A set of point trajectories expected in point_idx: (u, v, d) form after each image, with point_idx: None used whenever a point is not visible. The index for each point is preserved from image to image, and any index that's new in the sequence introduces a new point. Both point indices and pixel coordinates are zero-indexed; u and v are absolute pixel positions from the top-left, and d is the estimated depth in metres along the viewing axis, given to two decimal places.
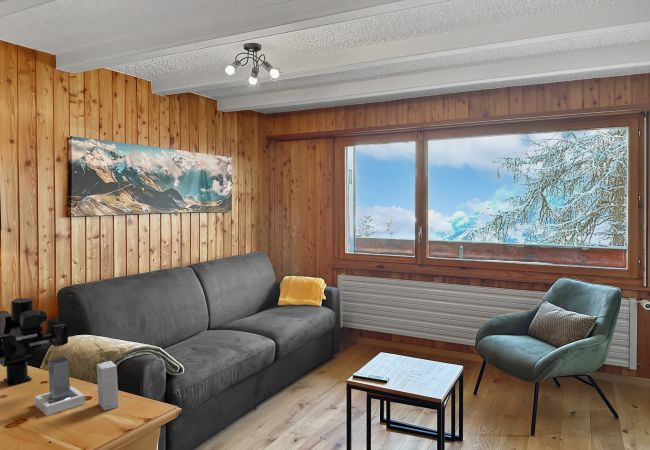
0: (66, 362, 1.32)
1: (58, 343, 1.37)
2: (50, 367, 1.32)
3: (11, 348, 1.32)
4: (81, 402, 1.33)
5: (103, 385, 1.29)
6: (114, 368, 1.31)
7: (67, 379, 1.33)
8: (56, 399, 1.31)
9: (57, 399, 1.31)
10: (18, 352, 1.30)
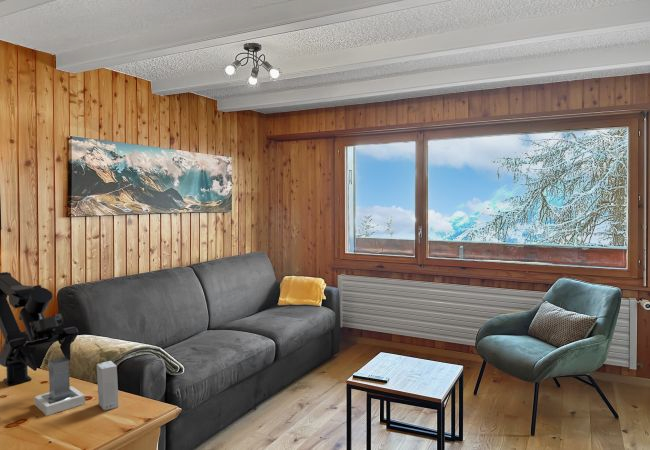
0: (66, 362, 1.32)
1: (67, 358, 1.39)
2: (50, 367, 1.32)
3: (22, 353, 1.32)
4: (81, 402, 1.33)
5: (103, 385, 1.29)
6: (114, 368, 1.31)
7: (67, 379, 1.33)
8: (56, 399, 1.31)
9: (57, 399, 1.31)
10: (28, 365, 1.32)
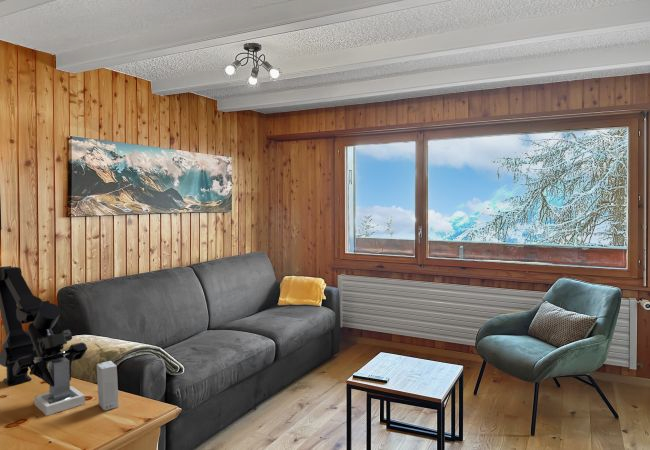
0: (66, 362, 1.32)
1: None
2: (50, 367, 1.32)
3: (39, 369, 1.32)
4: (81, 402, 1.33)
5: (103, 385, 1.29)
6: (114, 368, 1.31)
7: (67, 379, 1.33)
8: (56, 399, 1.31)
9: (57, 399, 1.31)
10: (46, 380, 1.31)
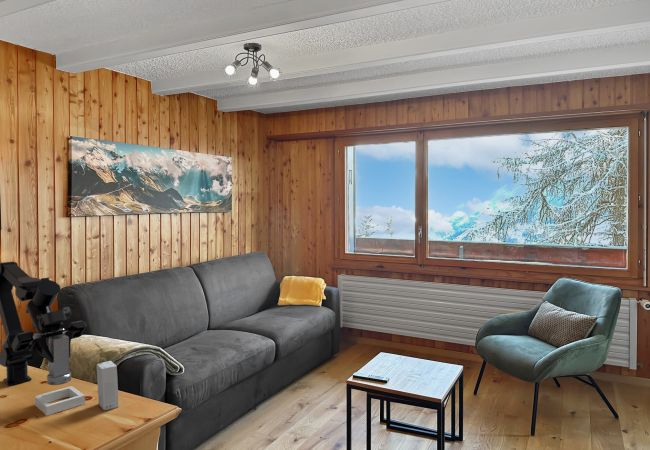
0: (66, 338, 1.32)
1: None
2: (50, 343, 1.31)
3: (38, 345, 1.31)
4: (81, 402, 1.33)
5: (103, 385, 1.29)
6: (114, 368, 1.31)
7: (67, 356, 1.32)
8: (56, 375, 1.30)
9: (57, 375, 1.31)
10: (45, 357, 1.30)
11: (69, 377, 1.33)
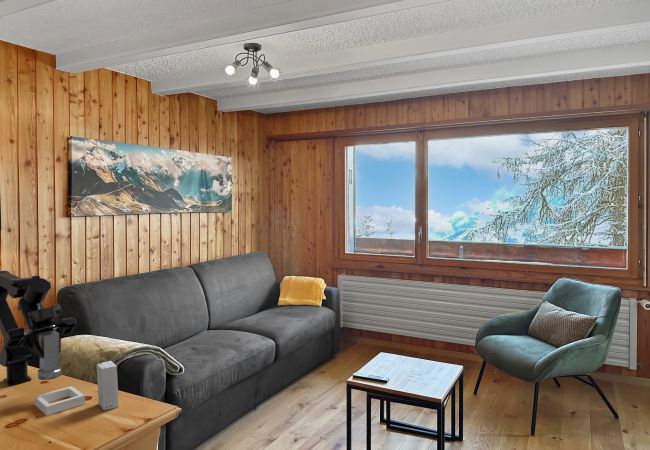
0: (56, 335, 1.35)
1: None
2: (40, 339, 1.35)
3: (29, 341, 1.35)
4: (81, 402, 1.33)
5: (103, 385, 1.29)
6: (114, 368, 1.31)
7: (57, 351, 1.36)
8: (46, 370, 1.34)
9: (47, 370, 1.34)
10: (36, 352, 1.34)
11: (59, 372, 1.36)
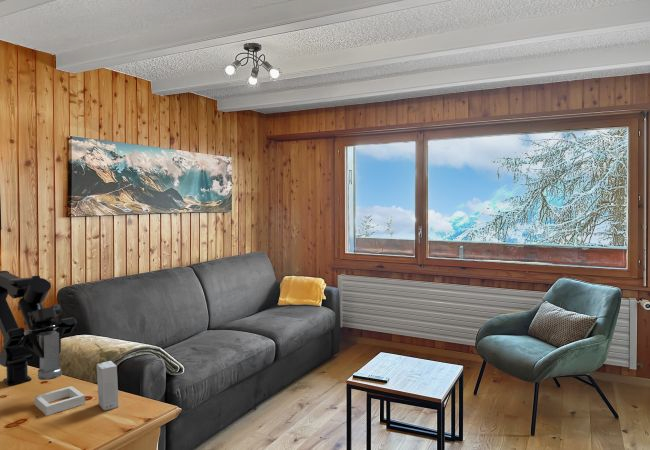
0: (56, 335, 1.35)
1: None
2: (40, 339, 1.35)
3: (29, 341, 1.35)
4: (81, 402, 1.33)
5: (103, 385, 1.29)
6: (114, 368, 1.31)
7: (57, 351, 1.36)
8: (46, 370, 1.34)
9: (47, 370, 1.34)
10: (36, 352, 1.34)
11: (59, 372, 1.36)
